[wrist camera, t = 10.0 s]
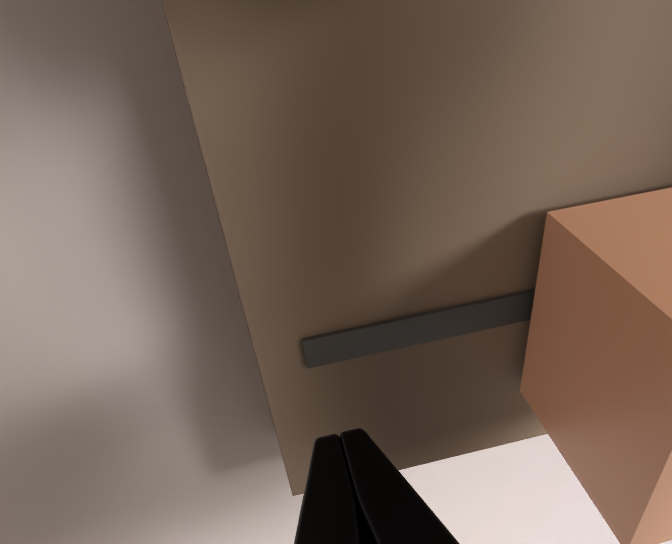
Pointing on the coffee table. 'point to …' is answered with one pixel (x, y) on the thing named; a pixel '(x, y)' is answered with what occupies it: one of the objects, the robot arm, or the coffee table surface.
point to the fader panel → (412, 193)
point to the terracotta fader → (608, 356)
